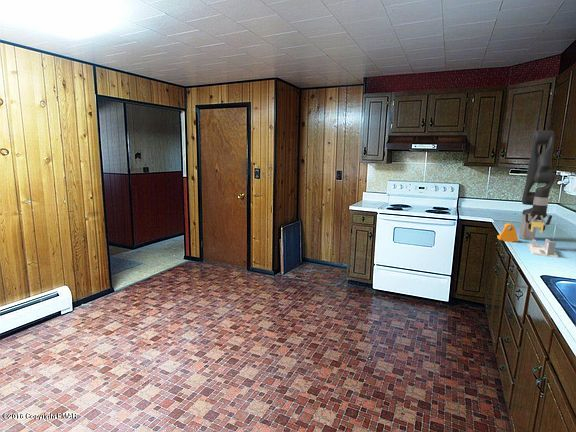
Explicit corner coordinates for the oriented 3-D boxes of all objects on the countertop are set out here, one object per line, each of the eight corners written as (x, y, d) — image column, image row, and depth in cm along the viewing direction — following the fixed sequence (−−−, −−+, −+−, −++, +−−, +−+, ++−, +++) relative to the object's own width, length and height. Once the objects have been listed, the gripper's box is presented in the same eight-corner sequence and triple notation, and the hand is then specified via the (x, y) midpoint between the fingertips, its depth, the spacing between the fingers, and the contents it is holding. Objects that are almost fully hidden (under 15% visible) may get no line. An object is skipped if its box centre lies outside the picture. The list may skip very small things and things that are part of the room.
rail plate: (527, 245, 227) (529, 232, 225) (549, 247, 222) (551, 235, 220) (532, 254, 206) (534, 240, 205) (557, 257, 201) (560, 243, 199)
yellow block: (529, 229, 223) (531, 220, 222) (541, 231, 220) (542, 221, 219) (530, 231, 219) (532, 222, 217) (542, 232, 216) (543, 223, 215)
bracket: (514, 240, 240) (516, 223, 238) (517, 242, 234) (520, 225, 231) (496, 238, 244) (498, 221, 241) (499, 241, 237) (501, 223, 235)
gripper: (553, 204, 216) (548, 230, 219) (525, 202, 222) (521, 227, 226) (555, 206, 209) (551, 232, 213) (527, 203, 216) (523, 229, 219)
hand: (536, 230), depth 219 cm, fingers closed on yellow block, 6 cm apart
